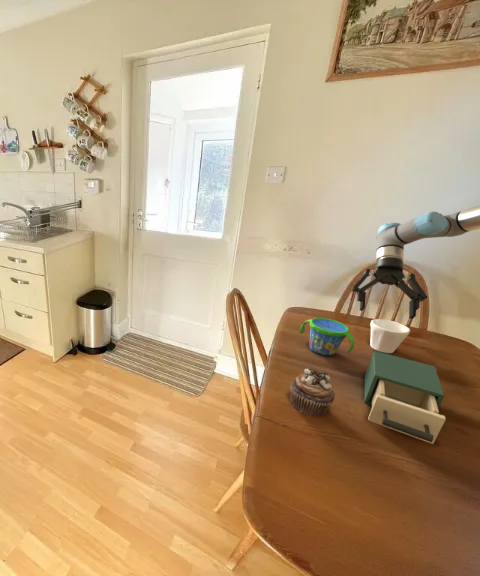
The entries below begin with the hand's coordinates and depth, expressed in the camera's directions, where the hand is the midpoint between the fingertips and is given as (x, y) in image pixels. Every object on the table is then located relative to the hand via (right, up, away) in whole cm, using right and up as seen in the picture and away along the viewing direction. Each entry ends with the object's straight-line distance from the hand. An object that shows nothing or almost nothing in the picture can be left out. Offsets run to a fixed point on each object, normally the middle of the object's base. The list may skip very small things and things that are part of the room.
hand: (386, 313), depth 110 cm
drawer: (-28, -24, -33) cm, 49 cm away
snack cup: (-24, -13, -2) cm, 27 cm away
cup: (-3, -13, -1) cm, 13 cm away
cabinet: (-20, -21, -24) cm, 38 cm away
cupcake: (-46, -23, -26) cm, 57 cm away
